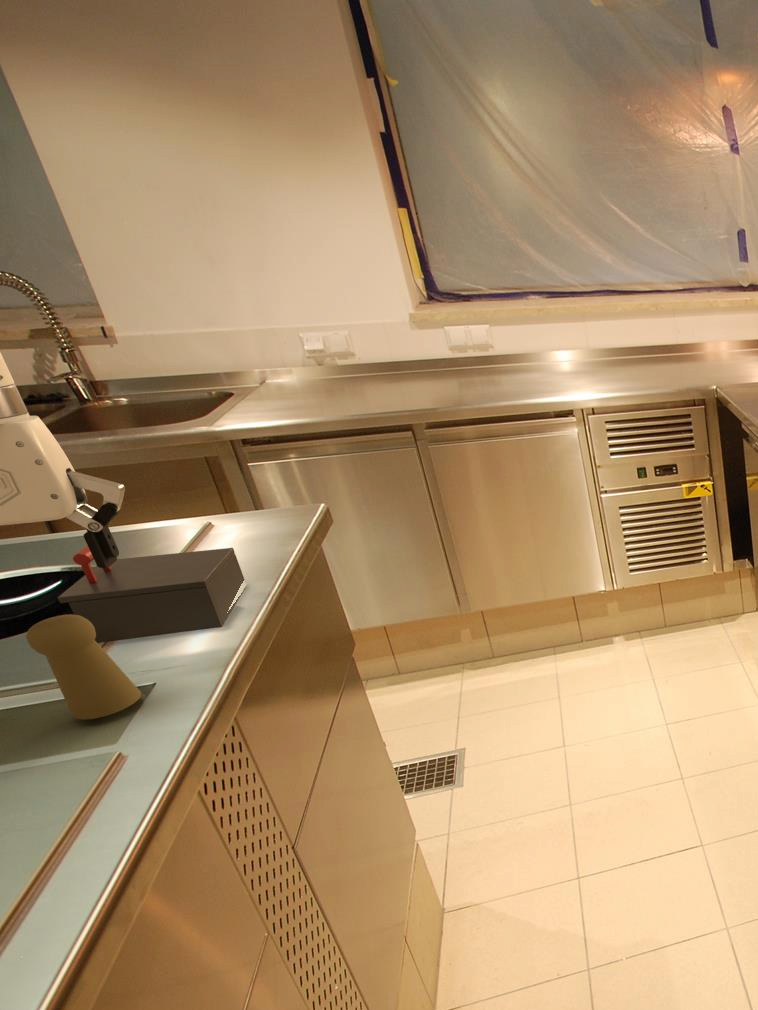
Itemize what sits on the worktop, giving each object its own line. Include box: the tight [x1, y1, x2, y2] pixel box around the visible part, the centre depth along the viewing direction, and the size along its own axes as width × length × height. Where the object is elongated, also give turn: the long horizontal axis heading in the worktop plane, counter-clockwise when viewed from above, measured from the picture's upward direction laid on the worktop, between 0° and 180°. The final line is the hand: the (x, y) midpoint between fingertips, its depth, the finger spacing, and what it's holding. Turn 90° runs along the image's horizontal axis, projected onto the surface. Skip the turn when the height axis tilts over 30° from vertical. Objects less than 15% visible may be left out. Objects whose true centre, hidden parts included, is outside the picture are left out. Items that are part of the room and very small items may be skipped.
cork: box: [26, 614, 142, 721], centre depth 93 cm, size 6×6×11 cm
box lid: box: [57, 544, 236, 604], centre depth 113 cm, size 15×15×5 cm
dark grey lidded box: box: [68, 552, 246, 644], centre depth 116 cm, size 14×15×7 cm
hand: (49, 571), depth 89 cm, fingers open, 9 cm apart
